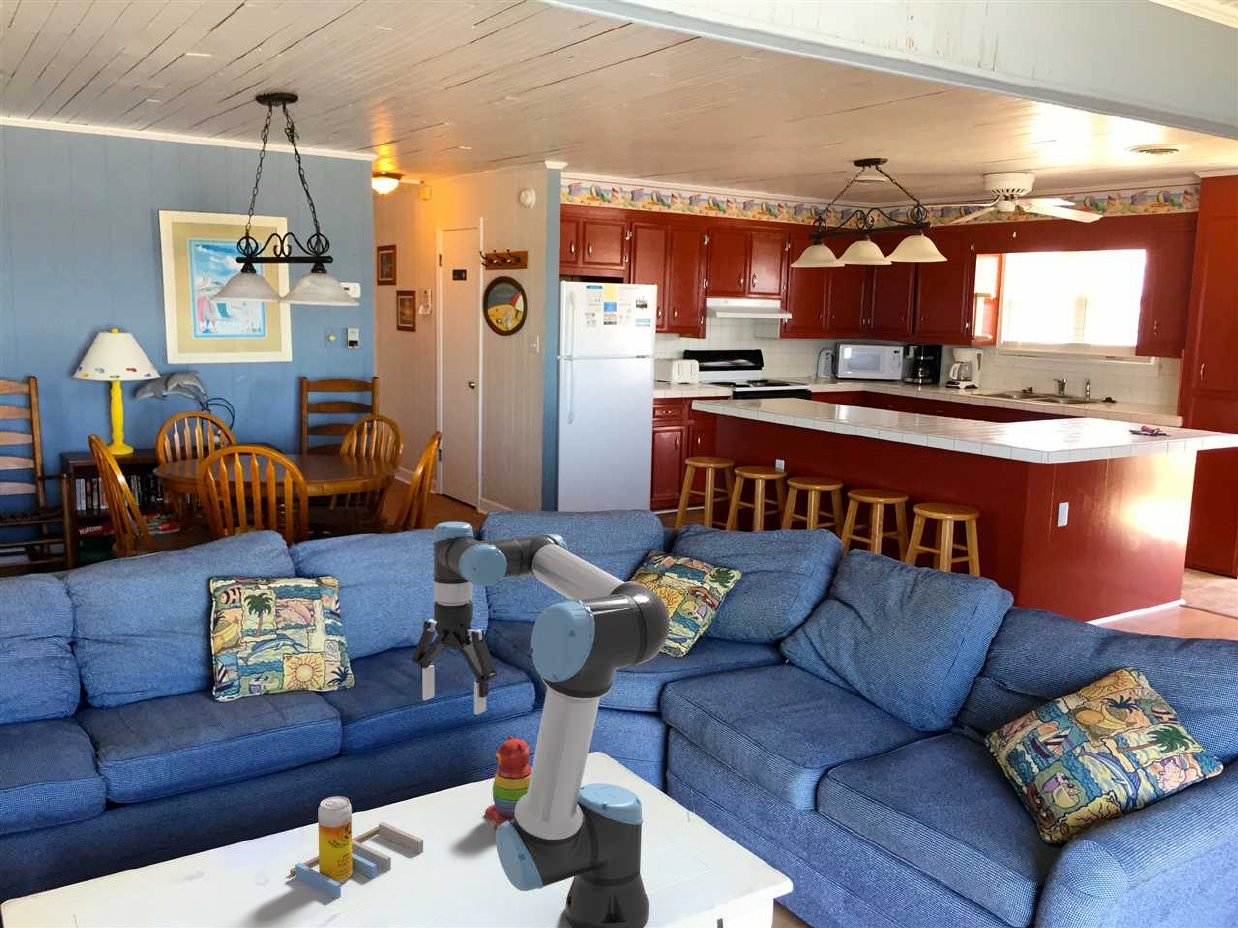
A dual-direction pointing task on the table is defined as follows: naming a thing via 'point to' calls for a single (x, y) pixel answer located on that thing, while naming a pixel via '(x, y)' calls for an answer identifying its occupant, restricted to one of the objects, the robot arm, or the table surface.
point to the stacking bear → (509, 780)
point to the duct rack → (359, 859)
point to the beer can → (335, 838)
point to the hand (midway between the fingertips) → (453, 705)
